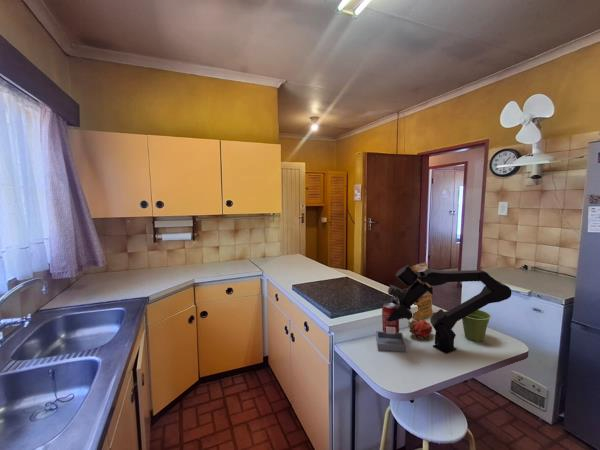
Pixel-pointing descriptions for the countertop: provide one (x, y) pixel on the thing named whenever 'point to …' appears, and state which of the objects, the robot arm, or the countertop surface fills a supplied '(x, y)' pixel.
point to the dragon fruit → (420, 328)
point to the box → (390, 342)
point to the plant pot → (476, 325)
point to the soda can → (392, 326)
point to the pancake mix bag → (423, 297)
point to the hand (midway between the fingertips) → (387, 317)
